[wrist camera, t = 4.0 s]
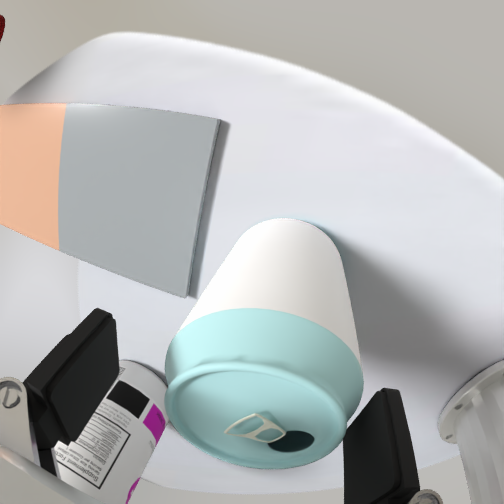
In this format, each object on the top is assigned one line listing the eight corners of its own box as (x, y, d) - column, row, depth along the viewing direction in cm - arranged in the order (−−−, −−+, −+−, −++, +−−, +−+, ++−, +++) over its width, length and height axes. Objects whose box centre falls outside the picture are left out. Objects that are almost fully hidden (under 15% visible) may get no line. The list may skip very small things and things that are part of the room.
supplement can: (193, 405, 26) (134, 536, 12) (143, 415, 29) (85, 517, 15) (136, 345, 24) (42, 476, 11) (93, 365, 27) (15, 463, 13)
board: (220, 119, 16) (217, 119, 16) (188, 294, 21) (185, 298, 20) (-3, 105, 18) (-7, 105, 18) (-5, 217, 23) (-9, 219, 22)
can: (347, 218, 17) (399, 356, 6) (334, 319, 20) (340, 481, 9) (229, 212, 18) (119, 327, 7) (233, 311, 21) (168, 458, 10)
